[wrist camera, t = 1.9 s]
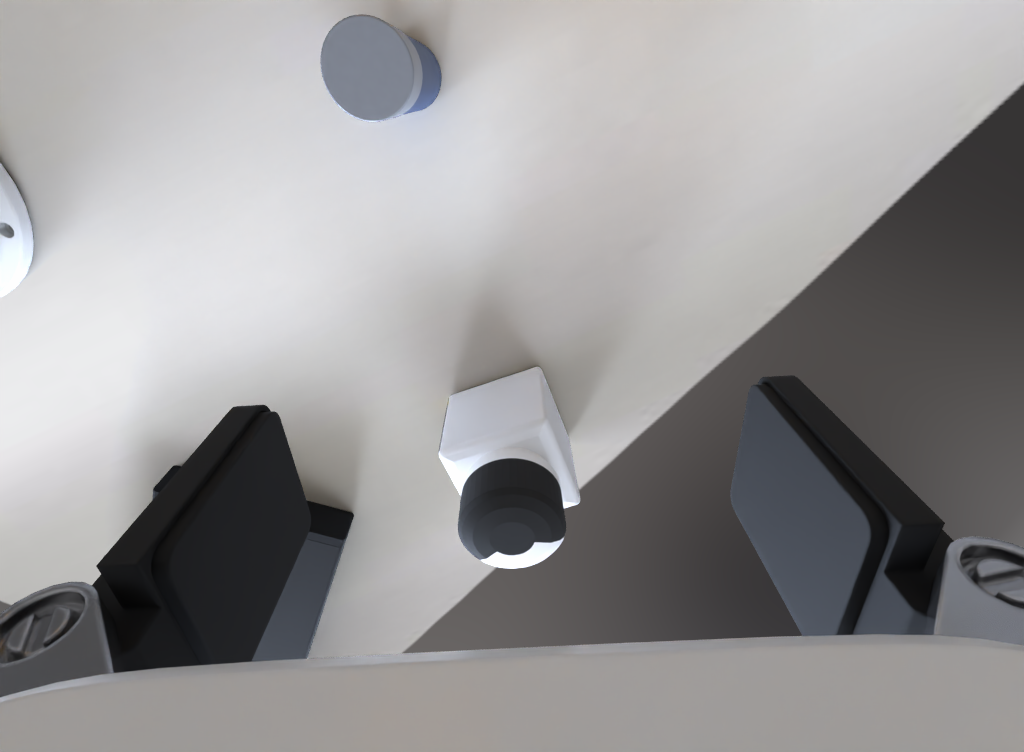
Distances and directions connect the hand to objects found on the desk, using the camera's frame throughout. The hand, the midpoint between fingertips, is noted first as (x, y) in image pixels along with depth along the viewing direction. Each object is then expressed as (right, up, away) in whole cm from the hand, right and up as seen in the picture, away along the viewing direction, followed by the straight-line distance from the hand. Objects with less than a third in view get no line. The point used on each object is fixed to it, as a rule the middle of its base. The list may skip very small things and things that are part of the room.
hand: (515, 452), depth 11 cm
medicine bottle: (0, -2, +29) cm, 29 cm away
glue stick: (-6, +18, +18) cm, 26 cm away
